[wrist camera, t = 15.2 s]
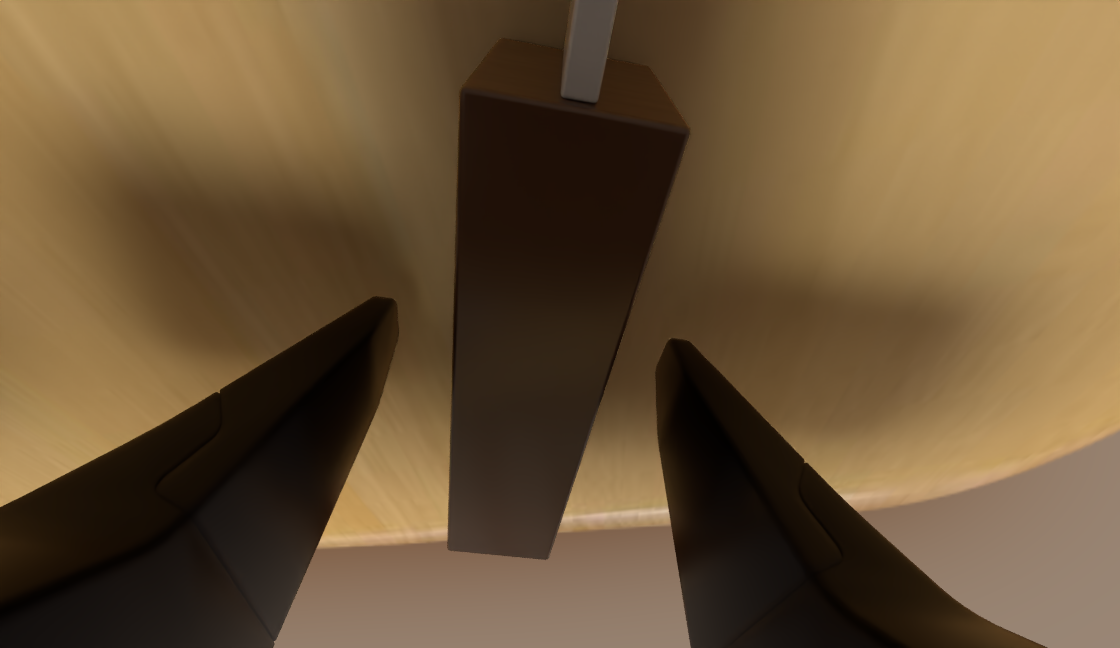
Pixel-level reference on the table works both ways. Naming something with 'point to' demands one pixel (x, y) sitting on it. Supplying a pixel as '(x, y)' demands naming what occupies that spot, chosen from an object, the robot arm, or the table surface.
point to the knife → (546, 268)
